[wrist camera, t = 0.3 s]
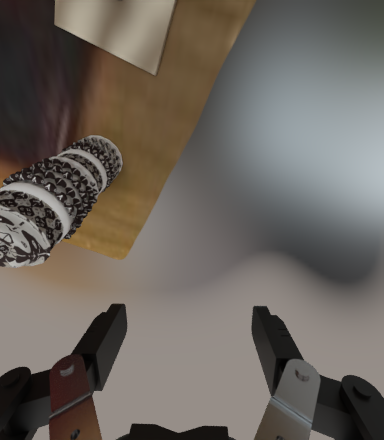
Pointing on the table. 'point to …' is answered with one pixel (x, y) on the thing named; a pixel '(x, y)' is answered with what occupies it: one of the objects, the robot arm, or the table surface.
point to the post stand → (120, 27)
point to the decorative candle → (53, 199)
